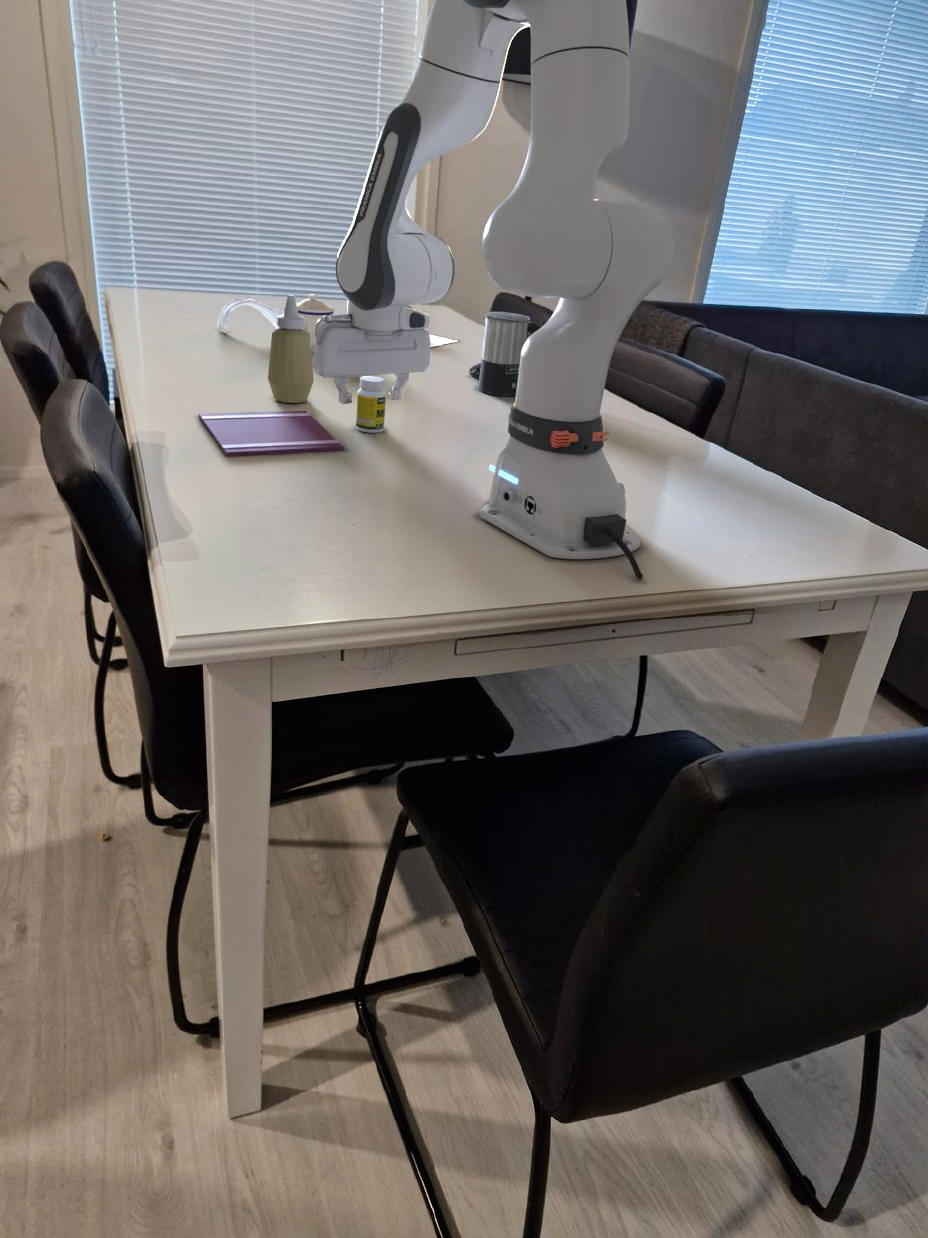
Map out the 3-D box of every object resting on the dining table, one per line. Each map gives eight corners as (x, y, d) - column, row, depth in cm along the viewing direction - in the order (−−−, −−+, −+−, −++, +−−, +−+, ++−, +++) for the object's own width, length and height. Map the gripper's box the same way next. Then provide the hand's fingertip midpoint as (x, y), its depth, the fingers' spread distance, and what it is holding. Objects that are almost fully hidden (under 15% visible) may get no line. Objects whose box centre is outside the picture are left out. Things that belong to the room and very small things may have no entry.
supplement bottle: (379, 435, 144) (382, 383, 140) (351, 430, 144) (353, 379, 140) (387, 427, 148) (390, 377, 144) (360, 423, 149) (362, 373, 145)
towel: (344, 450, 135) (344, 446, 135) (226, 456, 127) (226, 451, 127) (305, 413, 150) (305, 409, 150) (198, 417, 143) (198, 413, 142)
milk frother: (504, 399, 173) (513, 321, 166) (441, 381, 181) (448, 306, 174) (542, 389, 183) (552, 316, 176) (481, 373, 191) (489, 302, 184)
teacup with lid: (283, 346, 196) (283, 291, 190) (318, 343, 201) (319, 290, 196) (313, 358, 188) (314, 301, 183) (348, 355, 194) (350, 300, 188)
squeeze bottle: (258, 399, 156) (256, 292, 147) (286, 391, 162) (286, 289, 154) (295, 408, 153) (295, 300, 144) (322, 400, 159) (324, 296, 151)
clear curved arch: (305, 325, 219) (305, 295, 216) (324, 335, 211) (325, 304, 207) (212, 326, 207) (210, 294, 204) (229, 336, 198) (228, 303, 195)
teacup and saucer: (423, 337, 220) (425, 320, 219) (405, 340, 214) (406, 323, 212) (395, 330, 224) (396, 314, 222) (377, 333, 218) (377, 317, 216)
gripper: (325, 319, 130) (322, 411, 136) (438, 317, 141) (431, 401, 148) (306, 310, 134) (304, 399, 141) (417, 309, 145) (411, 391, 152)
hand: (370, 400), depth 144 cm, fingers open, 8 cm apart
